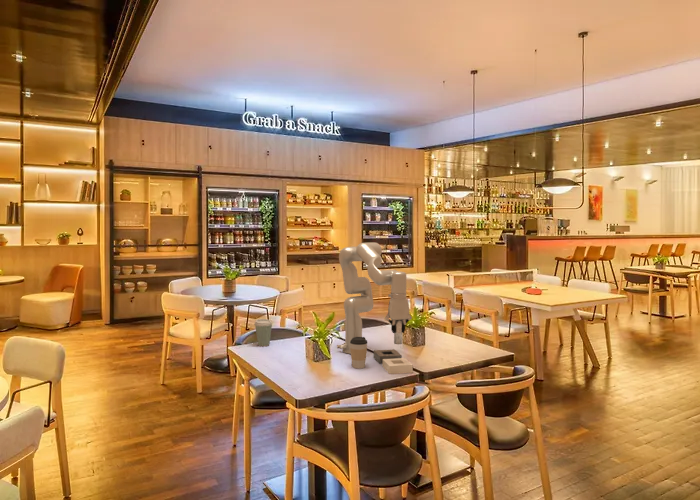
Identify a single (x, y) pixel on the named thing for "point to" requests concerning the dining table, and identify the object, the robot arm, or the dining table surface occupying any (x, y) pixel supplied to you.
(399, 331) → the pin
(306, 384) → the dining table surface
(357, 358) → the coffee cup
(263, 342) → the disposable coffee cup
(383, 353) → the block
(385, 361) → the socket block
